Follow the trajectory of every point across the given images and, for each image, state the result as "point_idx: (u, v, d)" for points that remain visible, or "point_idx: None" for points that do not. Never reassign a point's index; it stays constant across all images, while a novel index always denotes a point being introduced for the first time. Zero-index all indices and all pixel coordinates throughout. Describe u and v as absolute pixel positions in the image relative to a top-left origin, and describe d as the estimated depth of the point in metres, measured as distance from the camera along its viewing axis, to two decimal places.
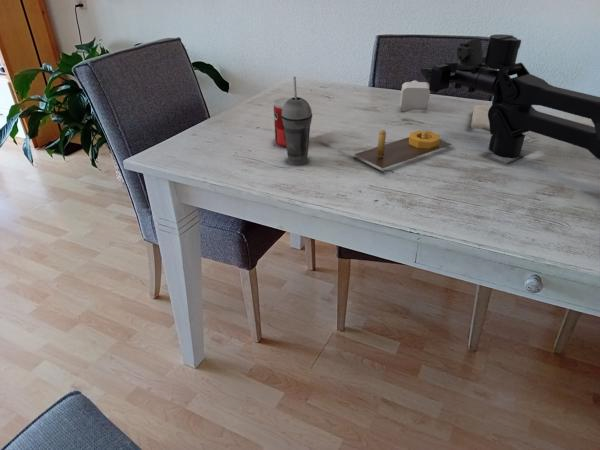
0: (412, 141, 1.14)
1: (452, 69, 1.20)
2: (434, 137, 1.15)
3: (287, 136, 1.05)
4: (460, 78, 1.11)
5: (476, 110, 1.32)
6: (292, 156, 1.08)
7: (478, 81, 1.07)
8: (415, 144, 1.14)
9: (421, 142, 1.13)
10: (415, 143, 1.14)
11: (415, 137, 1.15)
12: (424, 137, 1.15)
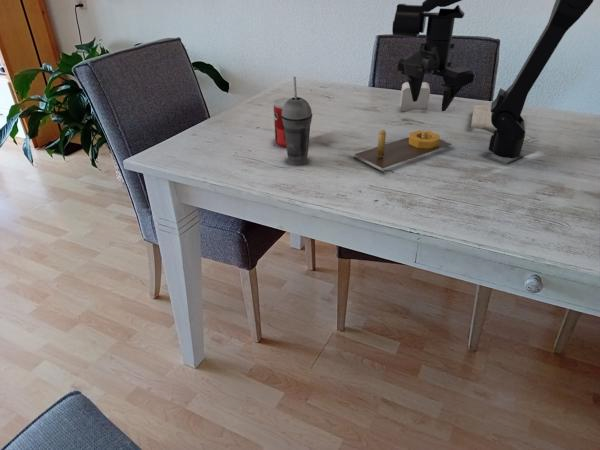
0: (412, 141, 1.14)
1: (418, 90, 1.13)
2: (434, 137, 1.15)
3: (287, 136, 1.05)
4: (445, 60, 1.03)
5: (476, 110, 1.32)
6: (292, 156, 1.08)
7: (436, 37, 1.00)
8: (415, 144, 1.14)
9: (421, 142, 1.13)
10: (415, 143, 1.14)
11: (415, 137, 1.15)
12: (424, 137, 1.15)
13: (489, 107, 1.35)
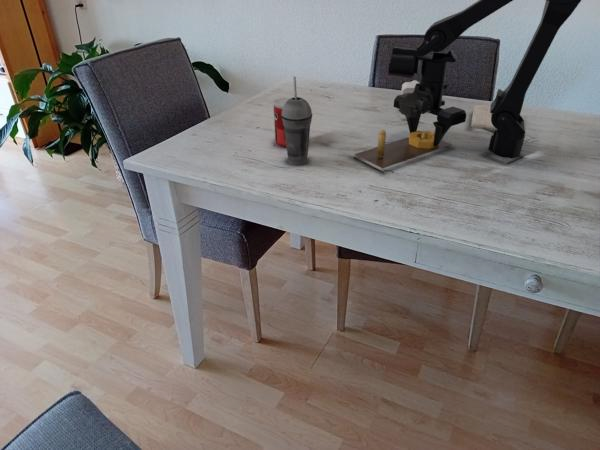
0: (412, 141, 1.14)
1: (415, 126, 1.18)
2: None
3: (287, 136, 1.05)
4: (439, 100, 1.08)
5: (476, 110, 1.32)
6: (292, 156, 1.08)
7: (430, 79, 1.05)
8: (415, 144, 1.14)
9: (421, 142, 1.13)
10: (415, 143, 1.14)
11: (415, 137, 1.15)
12: (424, 137, 1.15)
13: (489, 107, 1.35)
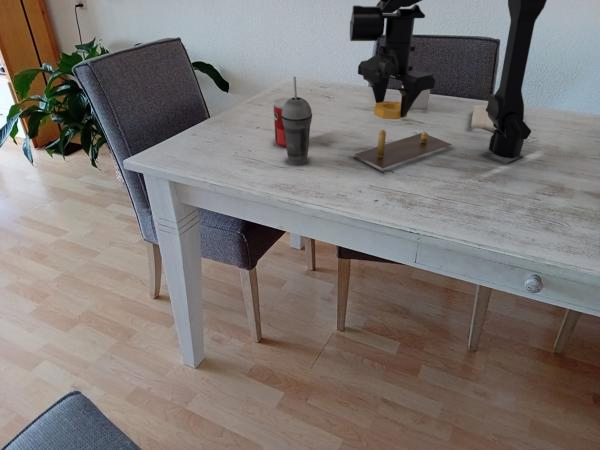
0: (377, 111, 1.03)
1: (382, 96, 1.06)
2: None
3: (287, 136, 1.05)
4: (405, 64, 0.97)
5: (476, 110, 1.32)
6: (292, 156, 1.08)
7: (399, 40, 0.94)
8: (381, 115, 1.02)
9: (387, 112, 1.01)
10: (380, 113, 1.02)
11: (381, 107, 1.03)
12: (424, 137, 1.15)
13: None
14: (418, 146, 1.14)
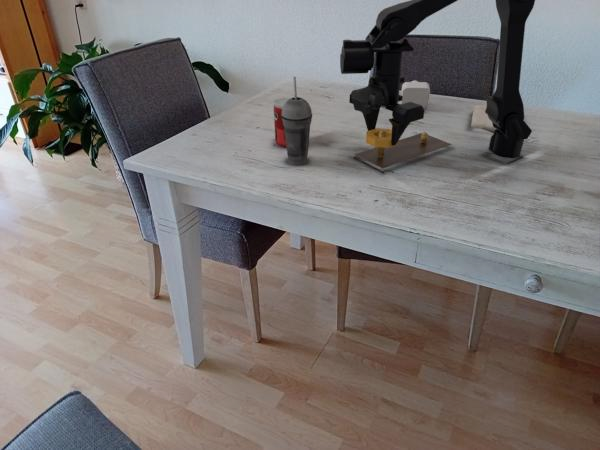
0: (369, 140, 1.05)
1: (374, 124, 1.08)
2: None
3: (287, 136, 1.05)
4: (395, 95, 0.99)
5: (476, 110, 1.32)
6: (292, 156, 1.08)
7: (389, 72, 0.96)
8: (372, 143, 1.04)
9: (378, 141, 1.03)
10: (372, 142, 1.04)
11: (372, 135, 1.05)
12: (424, 137, 1.15)
13: None
14: (418, 146, 1.14)
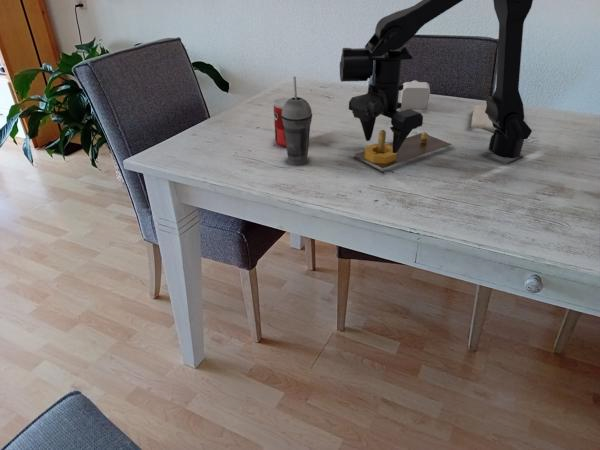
0: (367, 155, 1.07)
1: (370, 129, 1.10)
2: (390, 151, 1.08)
3: (287, 136, 1.05)
4: (394, 102, 1.00)
5: (476, 110, 1.32)
6: (292, 156, 1.08)
7: (388, 80, 0.97)
8: (371, 159, 1.07)
9: (376, 157, 1.05)
10: (370, 158, 1.07)
11: (370, 151, 1.07)
12: (424, 137, 1.15)
13: None
14: (418, 146, 1.14)
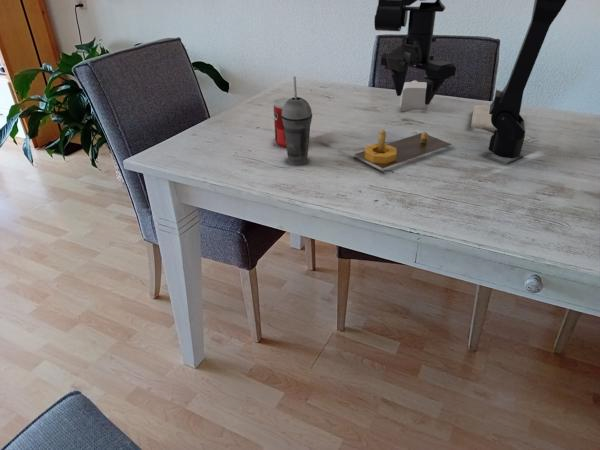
0: (367, 155, 1.07)
1: (401, 84, 1.14)
2: (390, 151, 1.08)
3: (287, 136, 1.05)
4: (428, 54, 1.04)
5: (476, 110, 1.32)
6: (292, 156, 1.08)
7: (417, 31, 1.01)
8: (371, 159, 1.07)
9: (376, 157, 1.05)
10: (370, 158, 1.07)
11: (370, 151, 1.07)
12: (424, 137, 1.15)
13: (489, 107, 1.35)
14: (418, 146, 1.14)
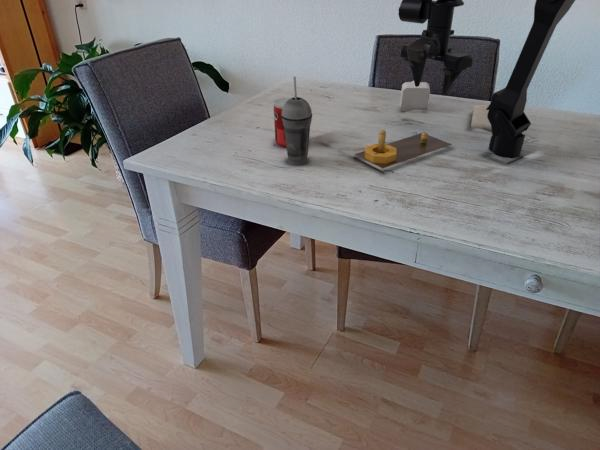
0: (367, 155, 1.07)
1: (420, 75, 1.20)
2: (390, 151, 1.08)
3: (287, 136, 1.05)
4: (446, 46, 1.10)
5: (476, 110, 1.32)
6: (292, 156, 1.08)
7: (432, 24, 1.08)
8: (371, 159, 1.07)
9: (376, 157, 1.05)
10: (370, 158, 1.07)
11: (370, 151, 1.07)
12: (424, 137, 1.15)
13: None
14: (418, 146, 1.14)
